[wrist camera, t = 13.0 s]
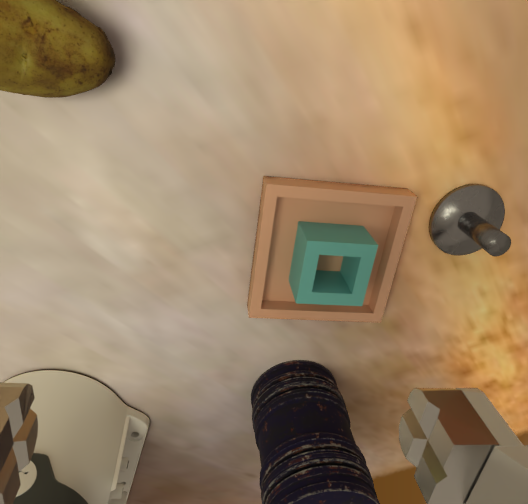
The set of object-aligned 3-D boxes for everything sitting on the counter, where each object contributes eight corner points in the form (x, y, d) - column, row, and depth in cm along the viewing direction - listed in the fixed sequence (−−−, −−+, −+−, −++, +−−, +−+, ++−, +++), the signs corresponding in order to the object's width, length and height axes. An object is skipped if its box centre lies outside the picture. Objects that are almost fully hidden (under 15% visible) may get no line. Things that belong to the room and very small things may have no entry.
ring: (363, 225, 40) (378, 245, 37) (349, 283, 43) (362, 306, 39) (298, 221, 39) (307, 240, 36) (288, 279, 42) (295, 303, 38)
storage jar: (272, 349, 46) (298, 479, 33) (353, 371, 49) (407, 500, 36) (236, 415, 50) (246, 556, 37) (313, 433, 53) (348, 570, 39)
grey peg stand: (486, 255, 44) (521, 283, 39) (420, 250, 43) (447, 279, 38) (512, 187, 41) (553, 209, 36) (441, 180, 40) (474, 202, 35)
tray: (373, 310, 45) (380, 322, 44) (247, 304, 43) (248, 317, 42) (407, 188, 40) (417, 196, 38) (263, 176, 38) (266, 183, 36)
